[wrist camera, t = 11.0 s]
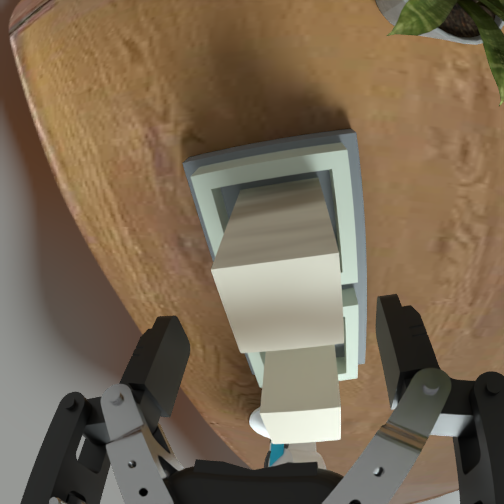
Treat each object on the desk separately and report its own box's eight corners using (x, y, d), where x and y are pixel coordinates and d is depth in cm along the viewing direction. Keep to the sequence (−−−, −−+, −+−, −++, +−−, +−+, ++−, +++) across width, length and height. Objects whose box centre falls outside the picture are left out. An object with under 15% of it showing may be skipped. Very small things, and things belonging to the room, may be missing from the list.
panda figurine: (265, 389, 34) (253, 514, 21) (354, 404, 34) (362, 517, 22) (240, 431, 40) (226, 526, 27) (314, 442, 41) (312, 533, 28)
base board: (188, 157, 21) (118, 226, 12) (351, 128, 19) (407, 179, 10) (253, 363, 31) (241, 455, 22) (362, 351, 29) (377, 446, 20)
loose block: (240, 189, 20) (210, 269, 13) (318, 177, 19) (338, 252, 12) (256, 255, 23) (240, 353, 15) (327, 246, 22) (344, 343, 14)
